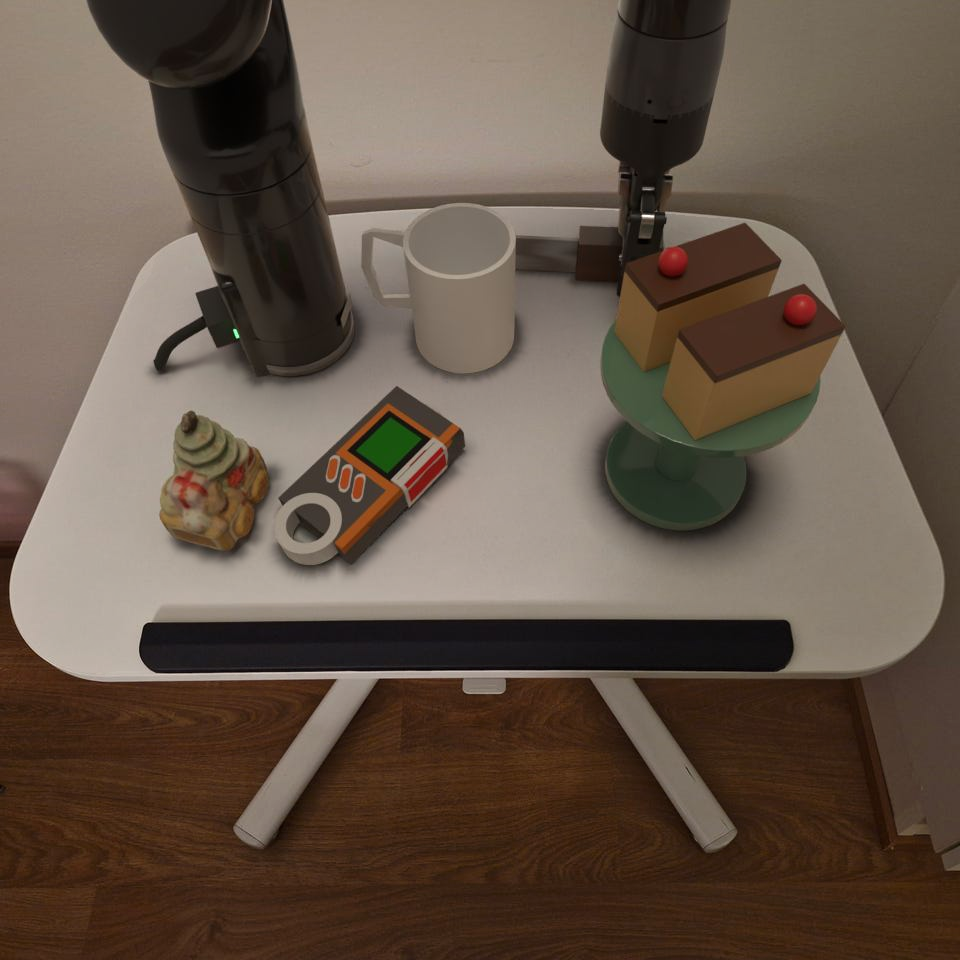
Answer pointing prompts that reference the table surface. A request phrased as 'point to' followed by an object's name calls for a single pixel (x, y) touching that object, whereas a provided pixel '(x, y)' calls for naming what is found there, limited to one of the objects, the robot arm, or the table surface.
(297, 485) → the electronic device
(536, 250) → the knife
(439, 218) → the cup
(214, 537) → the ornament
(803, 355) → the cake
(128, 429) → the table surface
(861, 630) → the table surface
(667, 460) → the cake stand
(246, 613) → the table surface
